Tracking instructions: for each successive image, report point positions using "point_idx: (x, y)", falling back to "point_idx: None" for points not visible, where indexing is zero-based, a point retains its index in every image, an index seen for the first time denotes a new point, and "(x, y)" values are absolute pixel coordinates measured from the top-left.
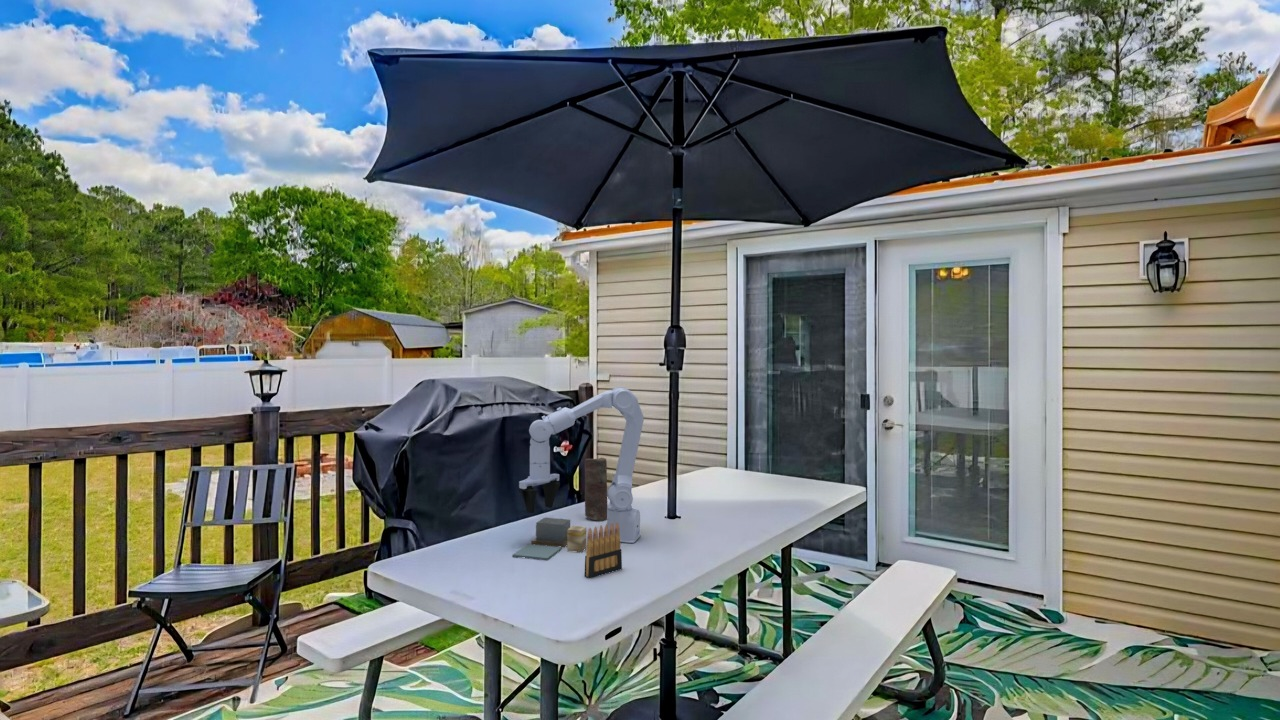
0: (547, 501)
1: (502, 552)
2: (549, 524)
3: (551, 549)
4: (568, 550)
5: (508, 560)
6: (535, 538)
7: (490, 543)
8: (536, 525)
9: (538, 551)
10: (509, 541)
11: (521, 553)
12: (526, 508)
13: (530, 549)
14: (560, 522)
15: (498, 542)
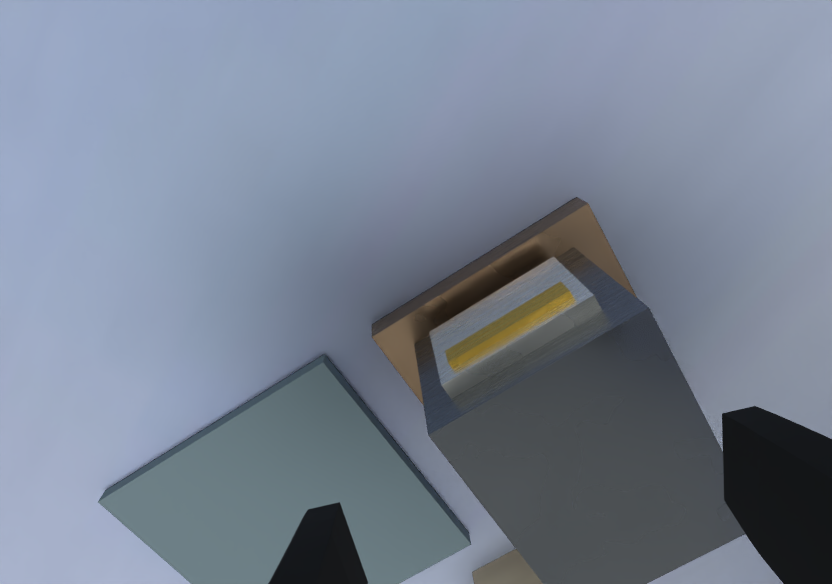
0: (790, 510)
1: (77, 364)
2: (505, 531)
3: (388, 545)
4: (477, 582)
5: (52, 529)
6: (440, 297)
7: (69, 57)
8: (426, 419)
9: (292, 534)
10: (262, 122)
11: (166, 513)
12: (287, 556)
13: (267, 474)
14: (617, 554)
15: (155, 80)
